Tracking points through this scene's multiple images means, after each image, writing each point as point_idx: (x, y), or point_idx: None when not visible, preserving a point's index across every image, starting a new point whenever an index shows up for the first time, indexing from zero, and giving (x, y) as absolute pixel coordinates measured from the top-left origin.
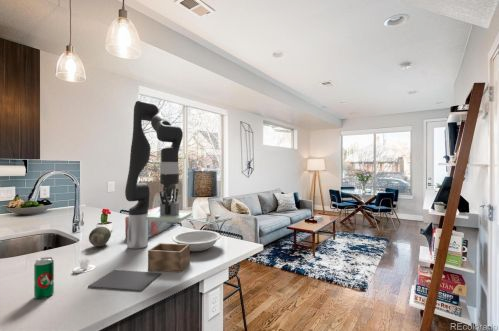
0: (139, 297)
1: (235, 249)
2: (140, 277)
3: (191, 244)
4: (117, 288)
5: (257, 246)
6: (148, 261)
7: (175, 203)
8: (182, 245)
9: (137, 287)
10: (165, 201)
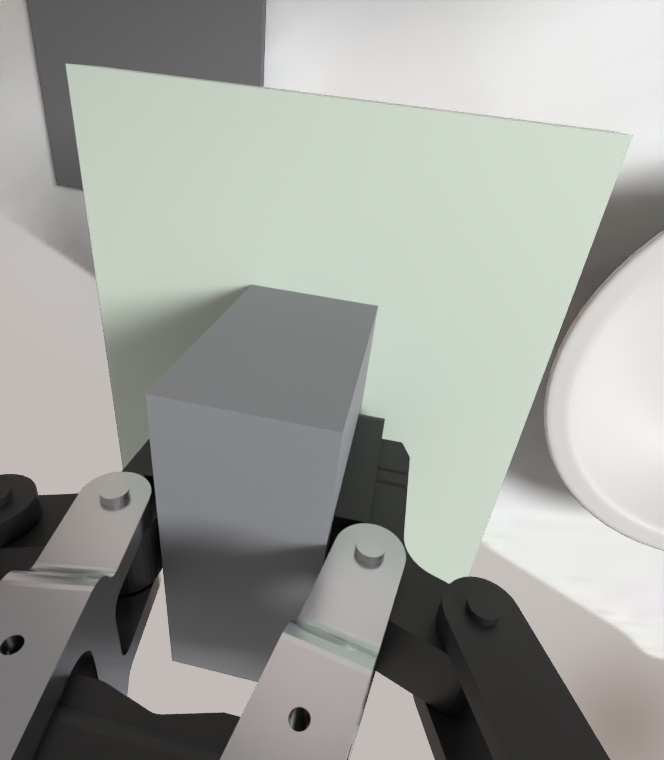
0: (19, 199)
1: (635, 562)
2: None
3: (550, 381)
4: (32, 29)
5: (659, 654)
6: None
7: (210, 653)
8: None
9: (70, 153)
10: (82, 559)
